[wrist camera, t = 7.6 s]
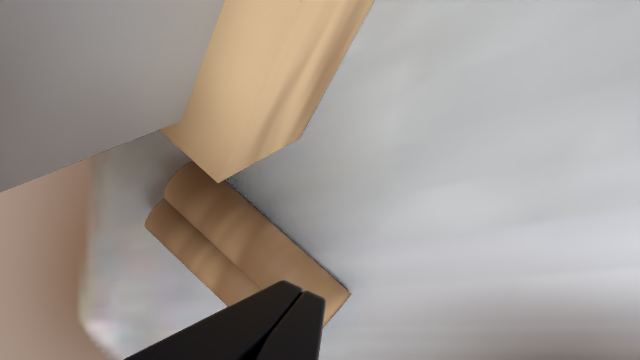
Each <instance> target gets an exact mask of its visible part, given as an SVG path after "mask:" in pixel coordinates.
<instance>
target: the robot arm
mask: <svg viewBox="0 0 640 360" xmlns="http://www.w3.org/2000/svg"><path fill="white" fill-rule="evenodd" d="M325 307H326V299H325V298H324V297H322V296H319V295H317V294H315V293H313V292H311V291H308V290H306V291H304V290H303V288H302V287H300V286H298V285H295V284H293V283H291V282H289V281H286V280H281V281H278V282H276V283H274V284H272V285H270V286H269V287H267V288H265V289H263V290H261V291H259V292H257V293H255V294H253V295H251V296H249V297H247V298H245V299H243V300H241V301H239V302H237V303H235V304H233V305H231V306H229V307H227V308H225V309H223V310H221V311H219V312H217V313H215V314H213V315H211V316H209V317H207V318H205V319H203V320H201V321H199V322H197V323H195V324H193V325H191V326H189V327H187V328H185V329H183V330H181V331H179V332H177V333H175V334H173V335H171V336H169V337H167V338H165V339H163V340H161V341H159V342H157V343H155V344H153V345H151V346H149V347H147V348H145V349H143V350H141V351H139V352H138V353H136V354H134V355H132V356H130V357H128V358H126V359H124V360H318V358H319V350H320V343H321V336H322V329H323V322H324V314H325Z"/></svg>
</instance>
